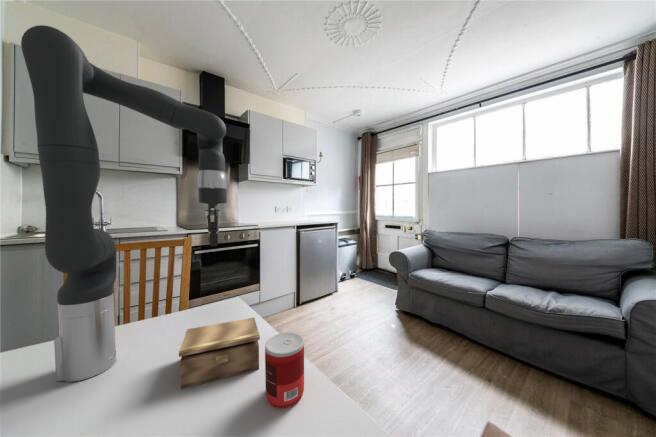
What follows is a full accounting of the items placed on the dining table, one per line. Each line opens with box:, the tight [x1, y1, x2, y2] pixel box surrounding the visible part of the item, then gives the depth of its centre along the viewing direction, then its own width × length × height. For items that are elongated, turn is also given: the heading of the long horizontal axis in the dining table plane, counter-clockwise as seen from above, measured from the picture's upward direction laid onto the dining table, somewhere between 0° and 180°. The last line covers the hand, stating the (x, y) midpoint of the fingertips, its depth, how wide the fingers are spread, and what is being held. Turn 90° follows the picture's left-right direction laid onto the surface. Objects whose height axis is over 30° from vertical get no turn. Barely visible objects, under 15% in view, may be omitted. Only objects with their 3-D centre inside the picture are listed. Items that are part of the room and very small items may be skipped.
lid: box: [178, 317, 261, 358], centre depth 59 cm, size 17×12×1 cm
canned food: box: [264, 332, 305, 409], centre depth 49 cm, size 8×8×11 cm
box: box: [179, 340, 260, 390], centre depth 59 cm, size 16×12×6 cm
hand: (214, 245), depth 71 cm, fingers closed
